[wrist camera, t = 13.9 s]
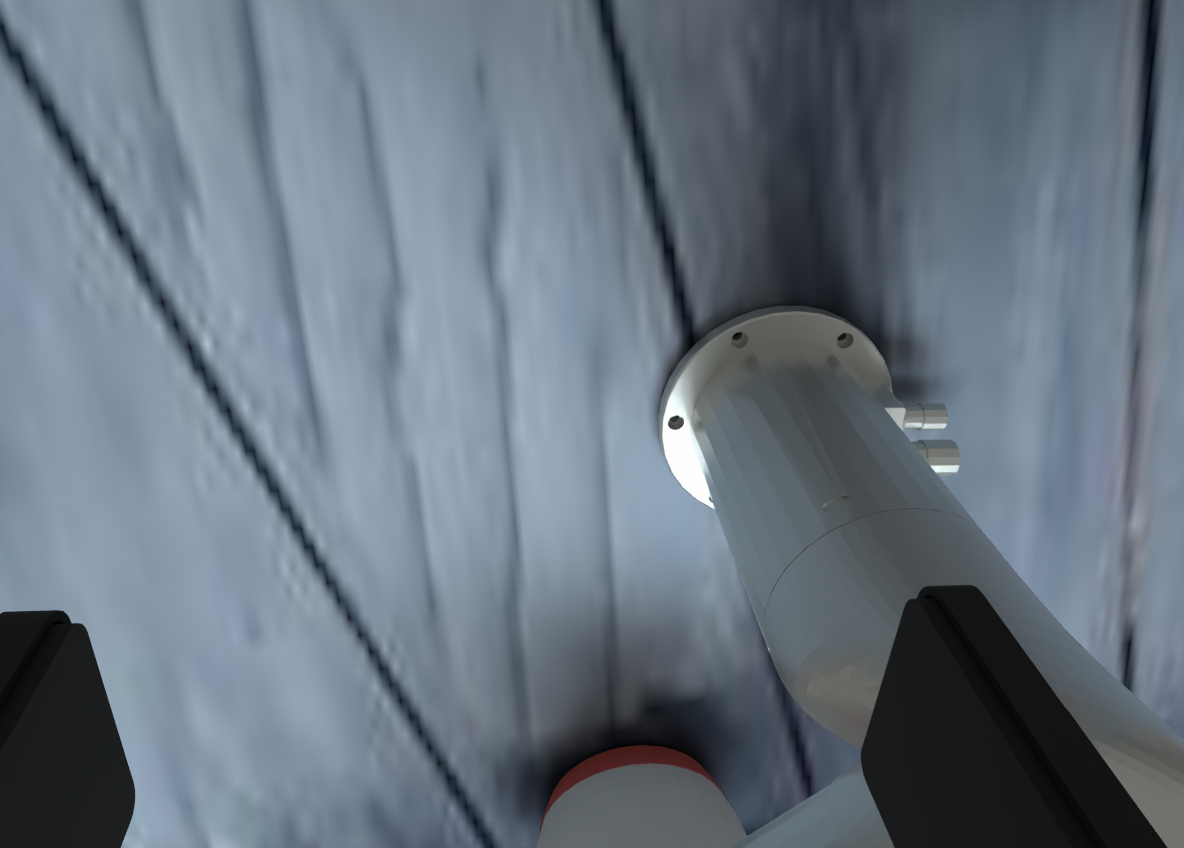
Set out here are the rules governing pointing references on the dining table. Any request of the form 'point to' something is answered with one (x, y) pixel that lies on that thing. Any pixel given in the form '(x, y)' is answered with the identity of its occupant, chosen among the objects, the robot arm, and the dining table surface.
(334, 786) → the dining table surface
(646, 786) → the citrus juicer
